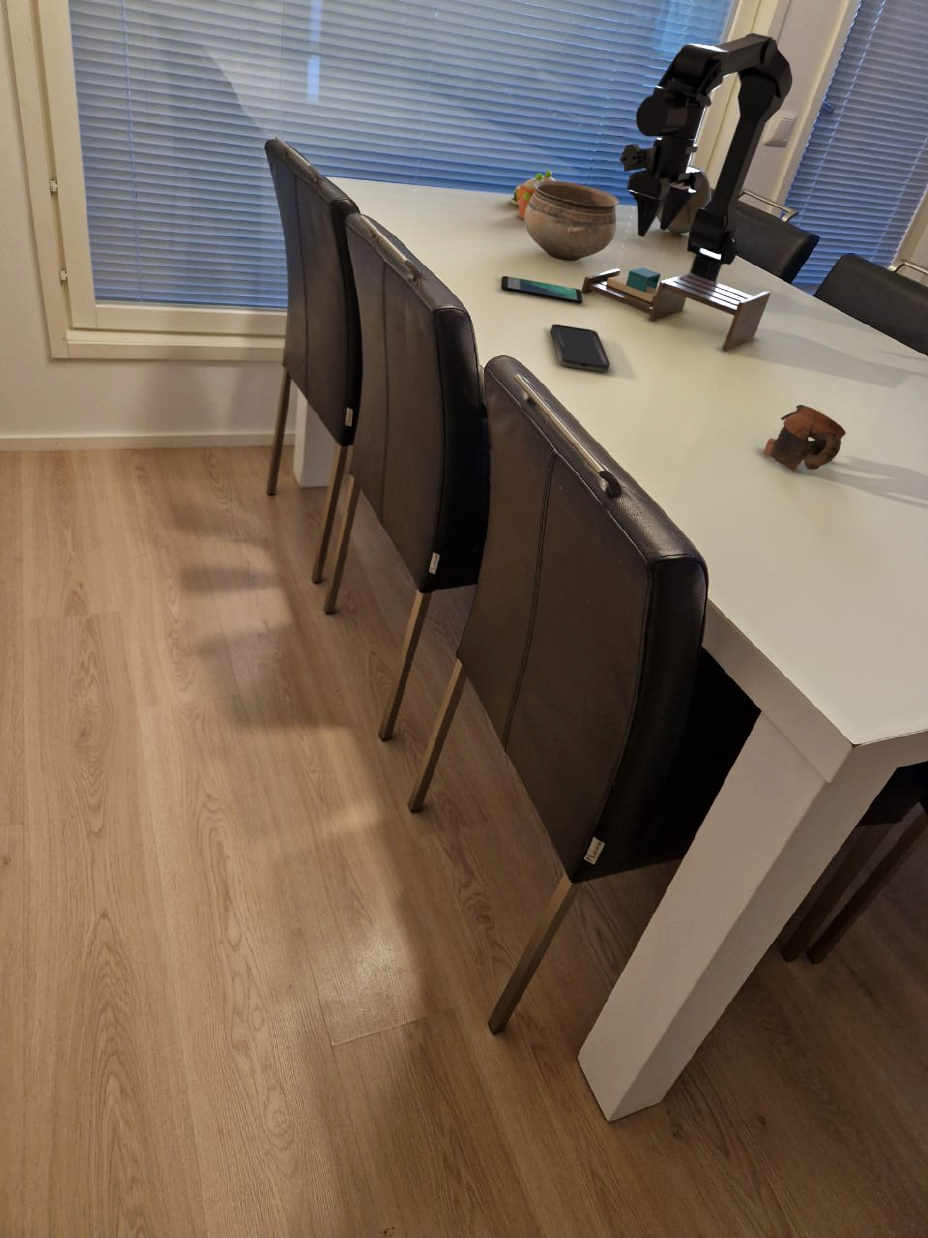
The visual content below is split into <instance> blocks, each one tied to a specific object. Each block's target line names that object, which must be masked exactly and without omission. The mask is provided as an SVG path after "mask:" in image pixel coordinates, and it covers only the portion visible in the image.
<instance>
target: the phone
mask: <svg viewBox="0 0 928 1238" xmlns="http://www.w3.org/2000/svg"><path fill="white" fill-rule="evenodd" d="M549 331H550V332H549V334H550V337H551V340H552V343H553V347H554V351H555V354H556V357H557V361H558V364H560V366H562V367H567V368H573V369H580V370H585V371H586V370H587V371H593V372H598V373H599V372H600V373H607V372H608V371H609V368H610V365H611V363H610V361H609V358H608V356H607V353H606V350H605V348H604V346H603V343H602V341H601V338H600V336H599V333H598V331H596V330H593V329H590V328H583V327H577V326H571V325H563V324H558V323H557V324H556V323H553V324H551V327H550V330H549Z"/></svg>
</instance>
